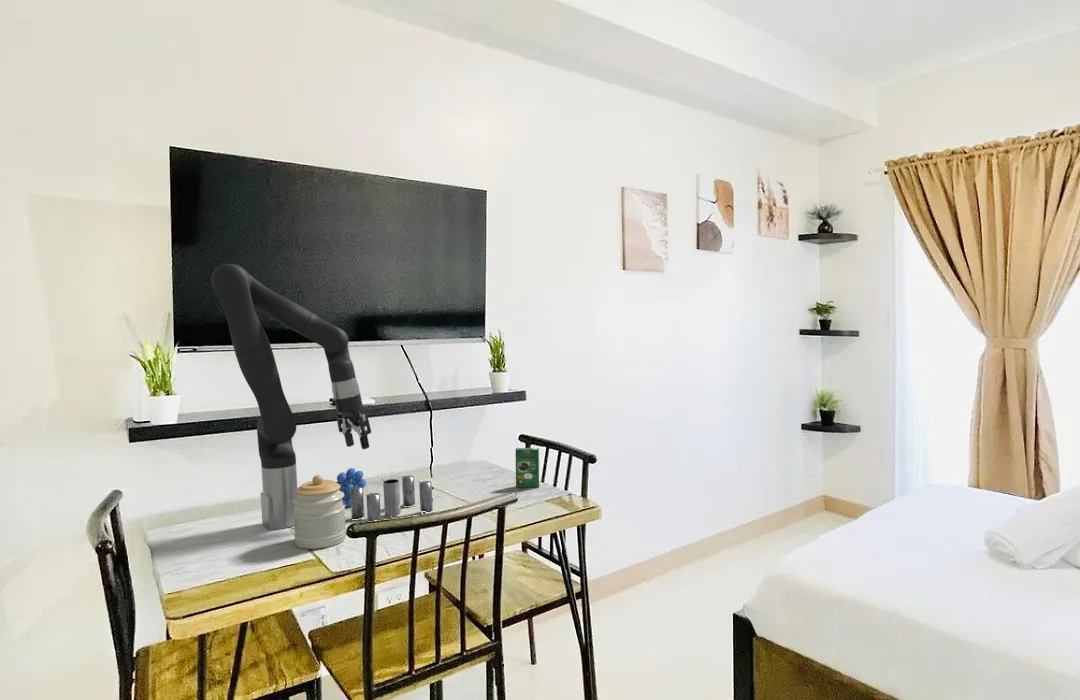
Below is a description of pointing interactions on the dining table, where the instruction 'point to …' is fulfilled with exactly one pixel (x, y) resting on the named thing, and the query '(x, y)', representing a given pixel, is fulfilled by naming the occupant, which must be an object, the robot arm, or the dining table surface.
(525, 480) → the coffee box
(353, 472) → the grapes
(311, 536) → the jar
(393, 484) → the hollow grey tube
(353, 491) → the spacer posts
